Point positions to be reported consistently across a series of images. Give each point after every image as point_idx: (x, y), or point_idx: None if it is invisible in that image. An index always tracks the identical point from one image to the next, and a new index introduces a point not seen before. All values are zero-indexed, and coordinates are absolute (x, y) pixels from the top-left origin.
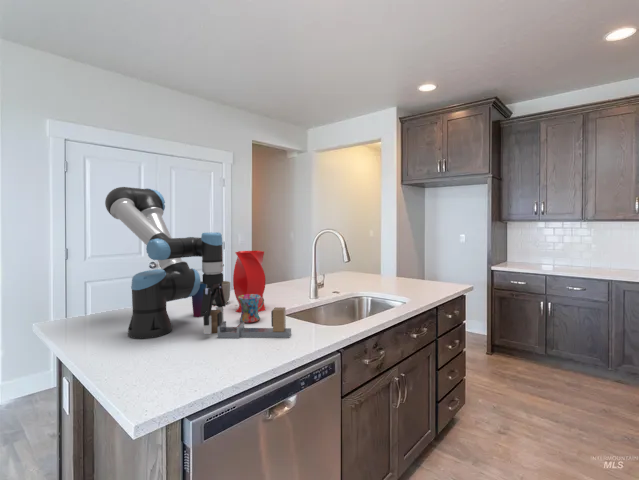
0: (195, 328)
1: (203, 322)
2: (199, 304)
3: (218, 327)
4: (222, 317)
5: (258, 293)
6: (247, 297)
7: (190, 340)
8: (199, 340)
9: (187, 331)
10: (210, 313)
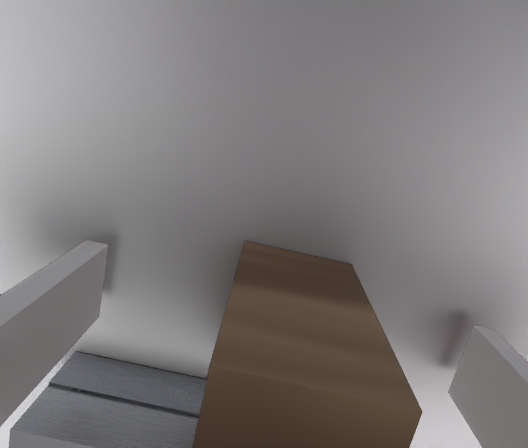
0: (462, 82)
1: (10, 290)
2: None
3: (15, 431)
4: (481, 438)
5: None
6: None
7: (23, 111)
8: (20, 201)
9: (357, 5)
10: (199, 418)
